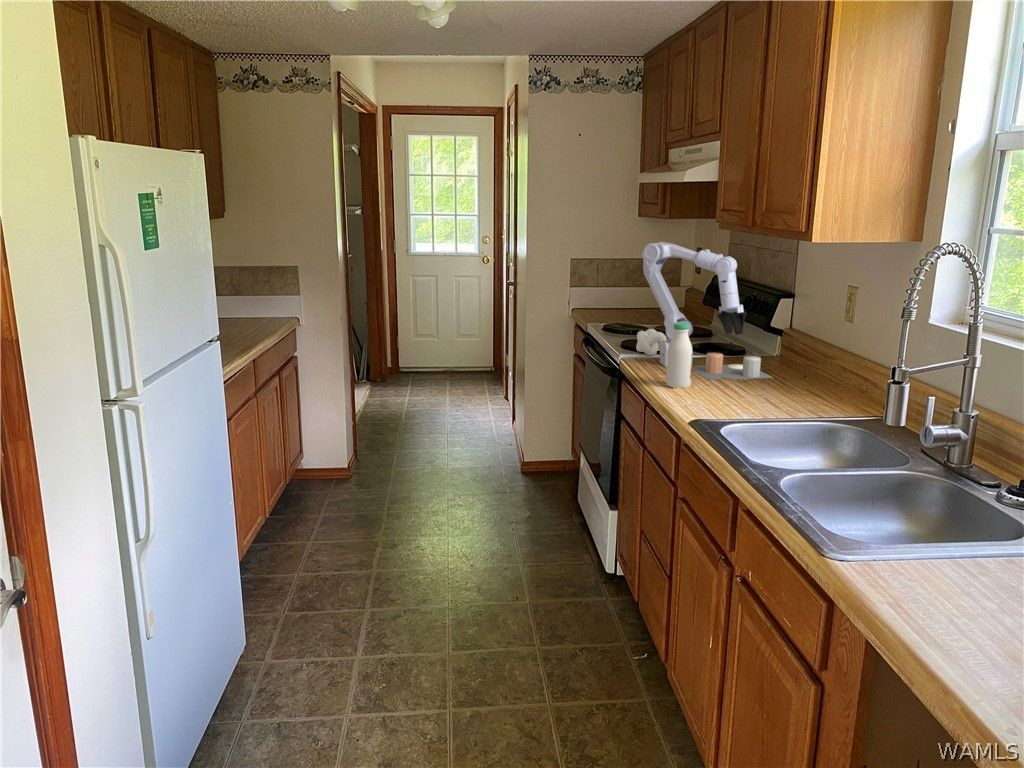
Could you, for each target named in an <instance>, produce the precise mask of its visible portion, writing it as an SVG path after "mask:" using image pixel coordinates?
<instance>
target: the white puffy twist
mask: <svg viewBox="0 0 1024 768" xmlns="http://www.w3.org/2000/svg"><path fill="white" fill-rule="evenodd" d="M667 340H668V337H667V335H666V334H665V333H663V332H662V331H657V330H656V329H654V328H649V329H647V330H645V331H644V330H639V331H638V332H637V334H636V341H637V343H636V347H635V349H636V351H637V352H638V351H639V352H644V353H643V354H645V355H647V356H649V355H650V356H649V357H652V355H653V356H655V355H656V354H658V353H657V351H660V350H661V343H662V342H663V341H667ZM639 352H638V353H639Z"/></svg>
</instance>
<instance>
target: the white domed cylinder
mask: <svg viewBox="0 0 1024 768" xmlns="http://www.w3.org/2000/svg"><path fill="white" fill-rule="evenodd" d="M761 363H762V357H761V356H756V355H747V356H743V361H742V364H743V372H742V375H743V376H745V377H759V376H760V371H761Z"/></svg>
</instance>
